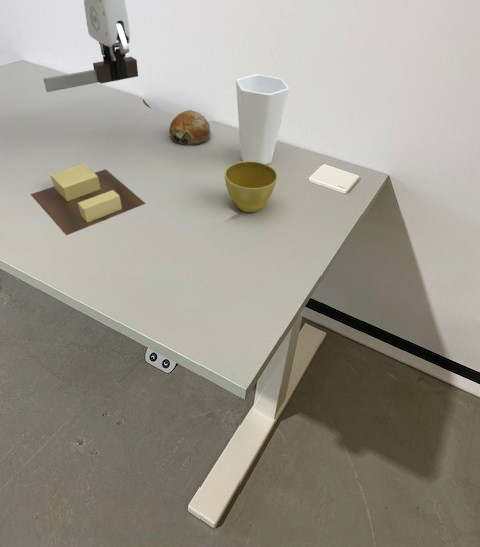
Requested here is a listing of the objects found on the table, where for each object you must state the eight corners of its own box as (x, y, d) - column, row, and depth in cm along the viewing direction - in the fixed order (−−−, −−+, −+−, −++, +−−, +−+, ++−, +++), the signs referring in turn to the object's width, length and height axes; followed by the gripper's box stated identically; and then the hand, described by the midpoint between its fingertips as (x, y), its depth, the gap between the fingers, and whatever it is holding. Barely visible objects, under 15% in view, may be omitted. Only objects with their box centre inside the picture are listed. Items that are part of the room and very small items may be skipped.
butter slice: (87, 222, 76) (83, 209, 74) (81, 216, 77) (77, 202, 75) (122, 209, 79) (119, 195, 77) (115, 203, 80) (112, 189, 78)
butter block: (67, 201, 80) (63, 188, 78) (53, 187, 83) (49, 174, 81) (100, 189, 84) (97, 176, 81) (86, 176, 87) (83, 163, 85)
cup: (230, 148, 101) (233, 74, 89) (270, 146, 103) (278, 73, 91) (240, 172, 93) (244, 95, 82) (283, 169, 95) (293, 93, 83)
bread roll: (211, 155, 106) (223, 124, 102) (178, 147, 99) (190, 114, 95) (191, 139, 111) (202, 109, 108) (159, 131, 104) (169, 99, 101)
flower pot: (214, 200, 85) (214, 169, 80) (253, 186, 90) (256, 156, 85) (243, 226, 79) (245, 194, 74) (283, 209, 84) (288, 178, 79)
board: (68, 241, 74) (66, 235, 73) (32, 200, 82) (30, 194, 81) (146, 209, 82) (145, 203, 81) (106, 175, 90) (105, 169, 89)
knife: (133, 73, 94) (131, 56, 92) (138, 76, 93) (136, 59, 91) (44, 90, 84) (39, 71, 82) (49, 93, 83) (44, 75, 81)
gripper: (64, -32, 81) (84, 69, 94) (102, -16, 72) (119, 92, 85) (100, -34, 85) (114, 63, 97) (141, -19, 76) (151, 85, 89)
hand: (116, 76), depth 91 cm, fingers closed on knife, 2 cm apart
